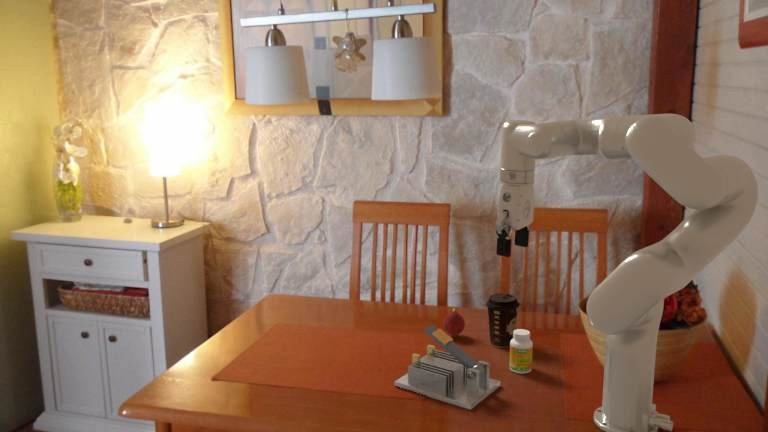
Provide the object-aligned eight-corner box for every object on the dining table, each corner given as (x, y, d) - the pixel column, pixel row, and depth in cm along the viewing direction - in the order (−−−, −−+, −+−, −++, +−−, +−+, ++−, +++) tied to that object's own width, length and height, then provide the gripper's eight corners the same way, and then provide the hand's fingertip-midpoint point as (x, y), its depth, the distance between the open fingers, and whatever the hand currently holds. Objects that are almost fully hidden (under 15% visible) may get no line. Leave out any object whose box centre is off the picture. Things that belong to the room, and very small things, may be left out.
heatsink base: (500, 386, 159) (500, 356, 158) (470, 410, 148) (471, 378, 147) (427, 365, 171) (427, 337, 169) (394, 386, 160) (394, 356, 158)
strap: (483, 375, 155) (488, 367, 154) (476, 380, 153) (481, 372, 151) (429, 330, 162) (433, 322, 161) (422, 334, 159) (426, 326, 158)
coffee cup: (517, 338, 187) (518, 292, 185) (519, 350, 179) (521, 302, 177) (484, 337, 188) (485, 291, 186) (486, 349, 180) (487, 302, 178)
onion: (465, 340, 186) (465, 312, 184) (444, 340, 186) (444, 312, 185) (463, 332, 192) (463, 305, 190) (442, 332, 192) (443, 305, 190)
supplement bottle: (515, 375, 165) (516, 337, 163) (505, 366, 170) (506, 329, 168) (535, 372, 166) (537, 334, 164) (525, 363, 171) (526, 326, 169)
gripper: (516, 184, 143) (512, 263, 147) (547, 173, 157) (542, 245, 161) (484, 180, 147) (480, 256, 151) (517, 169, 161) (512, 240, 165)
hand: (512, 250), depth 156 cm, fingers open, 9 cm apart
